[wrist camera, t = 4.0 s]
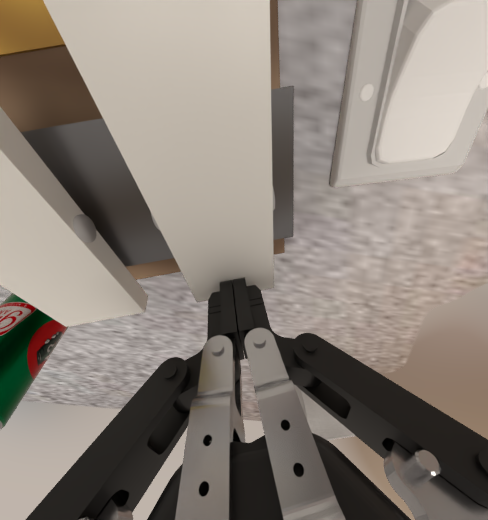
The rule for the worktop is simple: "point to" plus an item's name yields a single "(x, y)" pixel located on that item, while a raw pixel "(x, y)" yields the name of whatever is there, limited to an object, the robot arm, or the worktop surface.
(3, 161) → the block
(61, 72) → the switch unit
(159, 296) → the worktop surface
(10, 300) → the soda can
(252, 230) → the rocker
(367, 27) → the light switch
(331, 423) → the tea bag
